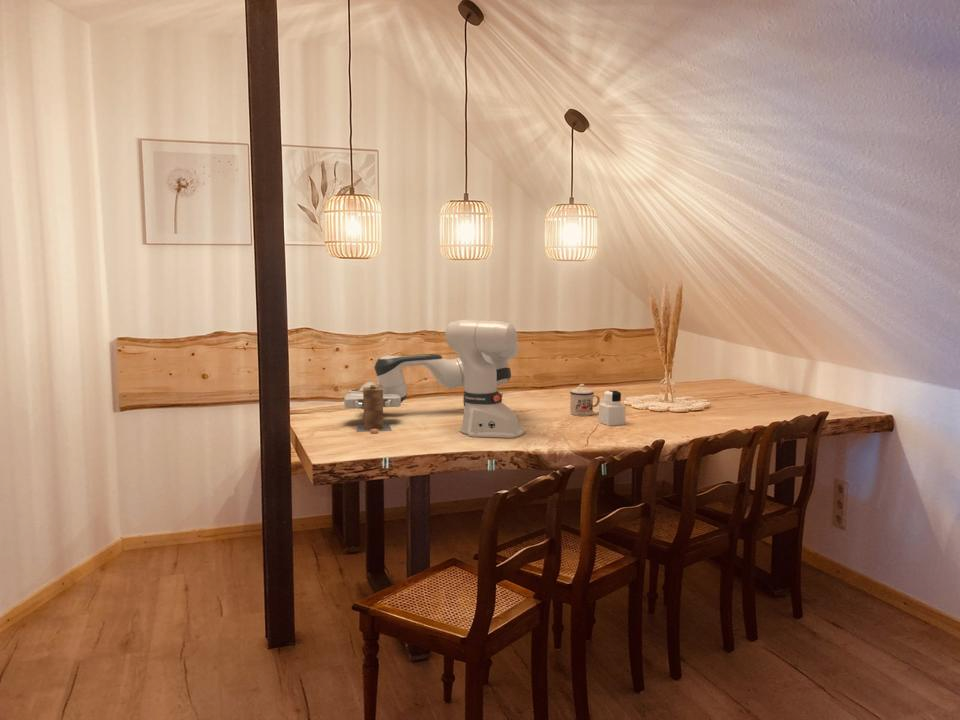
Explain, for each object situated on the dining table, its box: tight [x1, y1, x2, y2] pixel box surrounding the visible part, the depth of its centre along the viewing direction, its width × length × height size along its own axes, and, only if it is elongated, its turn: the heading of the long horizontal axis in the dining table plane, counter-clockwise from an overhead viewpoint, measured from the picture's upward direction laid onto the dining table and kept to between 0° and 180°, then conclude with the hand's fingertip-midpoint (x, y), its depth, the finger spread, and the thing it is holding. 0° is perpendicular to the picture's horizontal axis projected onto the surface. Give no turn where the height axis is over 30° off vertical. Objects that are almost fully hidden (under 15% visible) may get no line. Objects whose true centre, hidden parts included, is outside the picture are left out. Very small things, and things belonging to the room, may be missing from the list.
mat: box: [355, 422, 392, 433], centre depth 289 cm, size 12×12×1 cm
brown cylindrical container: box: [363, 385, 384, 430], centre depth 288 cm, size 7×7×15 cm
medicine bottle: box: [598, 390, 626, 427], centre depth 297 cm, size 7×7×12 cm
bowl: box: [370, 429, 379, 435], centre depth 281 cm, size 3×3×2 cm
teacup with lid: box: [569, 383, 601, 417], centre depth 315 cm, size 12×9×12 cm
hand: (373, 405), depth 287 cm, fingers open, 8 cm apart
